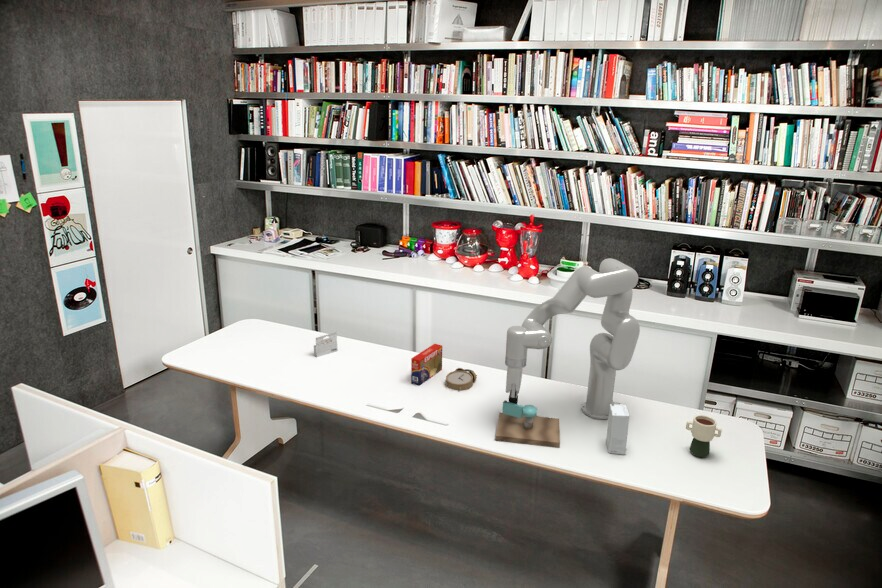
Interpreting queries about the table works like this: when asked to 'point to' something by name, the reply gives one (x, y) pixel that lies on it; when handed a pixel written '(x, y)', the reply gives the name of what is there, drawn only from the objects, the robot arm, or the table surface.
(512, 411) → the teal lever handle
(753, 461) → the table surface
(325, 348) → the ink cartridge box
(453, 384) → the alarm clock
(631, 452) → the table surface
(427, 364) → the toy box
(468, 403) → the table surface
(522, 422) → the post block
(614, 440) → the skincare box
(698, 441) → the character mug
